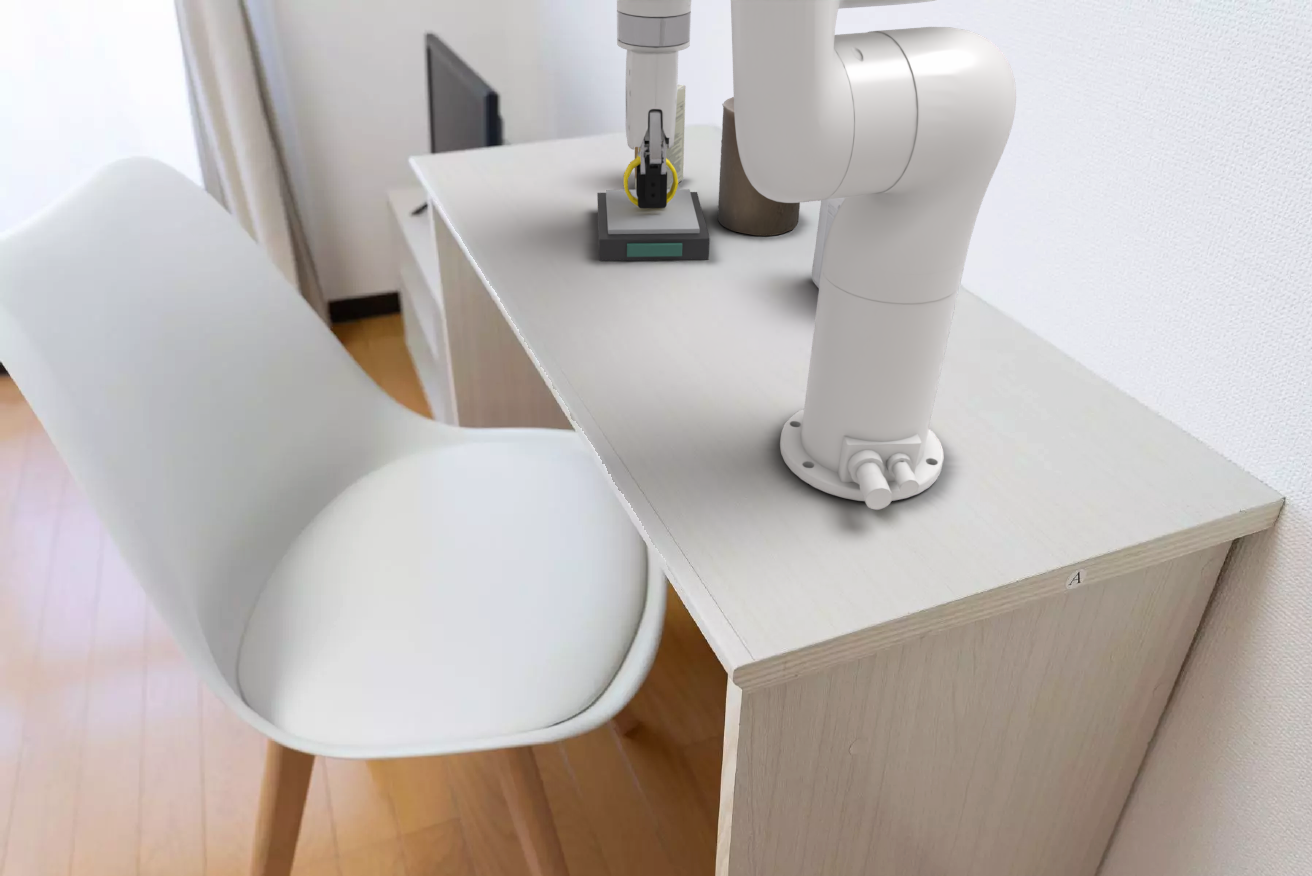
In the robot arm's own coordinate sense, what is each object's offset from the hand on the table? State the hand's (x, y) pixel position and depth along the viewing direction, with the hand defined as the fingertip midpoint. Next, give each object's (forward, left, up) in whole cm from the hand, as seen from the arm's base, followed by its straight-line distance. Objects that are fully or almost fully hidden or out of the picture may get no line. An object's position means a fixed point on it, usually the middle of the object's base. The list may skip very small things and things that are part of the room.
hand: (651, 201), depth 109 cm
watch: (0, 0, -1) cm, 1 cm away
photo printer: (-17, -19, -4) cm, 26 cm away
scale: (0, 0, -4) cm, 4 cm away
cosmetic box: (+16, -2, -4) cm, 17 cm away
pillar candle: (+4, -13, -4) cm, 14 cm away
